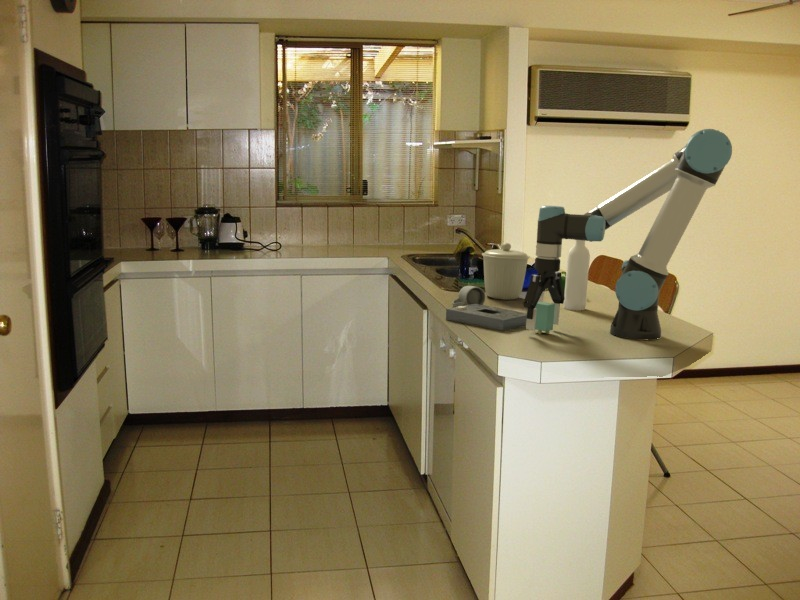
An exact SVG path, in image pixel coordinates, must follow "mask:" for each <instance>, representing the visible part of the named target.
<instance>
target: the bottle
mask: <svg viewBox="0 0 800 600" xmlns="http://www.w3.org/2000/svg"><path fill="white" fill-rule="evenodd" d="M590 260H591V255H590V251H589V249H588V247H586V241H583V240H574V245H573V246H572V247H570V248H569V251H568V253H567V260H566V271H565V272H566V282H565V294H564V297H565V300H564V303H563V304H562V305H563V309H564V310H569V311H575V310H576V311H579V312H581V310H582V311H584V310H586V305H587V294H588V293H587V292H588V281H589V271H590V270H589V269H590Z"/></svg>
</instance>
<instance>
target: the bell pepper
mask: <svg viewBox="0 0 800 600" xmlns="http://www.w3.org/2000/svg"><path fill="white" fill-rule="evenodd" d="M560 272H561V280H562V286H563V292H564V294H565V282H566V271H564V270H563V271H560Z"/></svg>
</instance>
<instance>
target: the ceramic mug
mask: <svg viewBox="0 0 800 600" xmlns="http://www.w3.org/2000/svg"><path fill="white" fill-rule="evenodd" d="M485 302H486V292H485V290H484V289H483V288H481V287H480V286H479V287H478V286H474V285H473V286H472V285H465V286H463V287H461V289H460V290H459V292H458V298H455V299H454V300H452V302H451V303H452V305H453V307H452V308H454V307H459V306H465V305H471V304H480V305H484V304H485Z"/></svg>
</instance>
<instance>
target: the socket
mask: <svg viewBox="0 0 800 600" xmlns="http://www.w3.org/2000/svg"><path fill="white" fill-rule="evenodd" d="M445 311H446V312H445V320H446V321H452V322H457V323H461V324H465V325H466V324H467V325H471V326H476V327H480V328H485V329H488V330H494V329H496V330H495V331H499V330H501V331H500V332H505V330H506V331H511V330H513V329H514V330H515V329H519V328H522V327H526V321H527V312H522V311H517V310H513V309H512V310H511V309H505V308H501V307H495V306H490V305H486V304H485V305H484V304H483V305H480V304H471V305H463V306H459V307H449V308H446V310H445ZM510 329H511V330H510Z"/></svg>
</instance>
